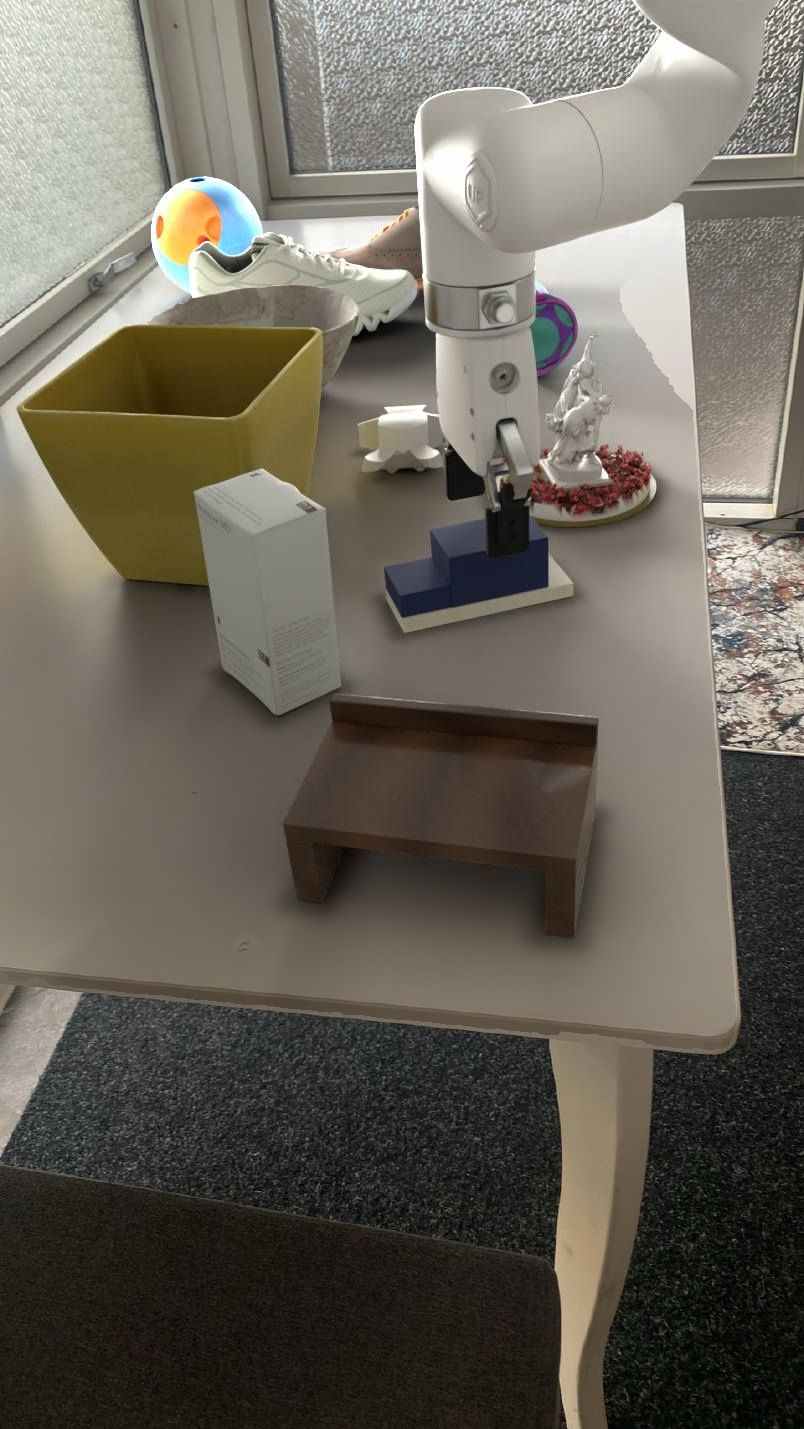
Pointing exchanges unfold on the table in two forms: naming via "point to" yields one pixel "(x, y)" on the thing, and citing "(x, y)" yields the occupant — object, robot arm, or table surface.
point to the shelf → (450, 793)
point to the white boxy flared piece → (402, 440)
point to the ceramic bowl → (276, 315)
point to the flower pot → (174, 432)
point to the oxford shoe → (388, 248)
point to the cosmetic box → (270, 588)
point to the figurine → (585, 462)
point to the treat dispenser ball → (201, 224)
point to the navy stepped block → (472, 578)
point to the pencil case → (552, 330)
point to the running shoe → (302, 276)
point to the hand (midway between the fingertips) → (485, 523)
